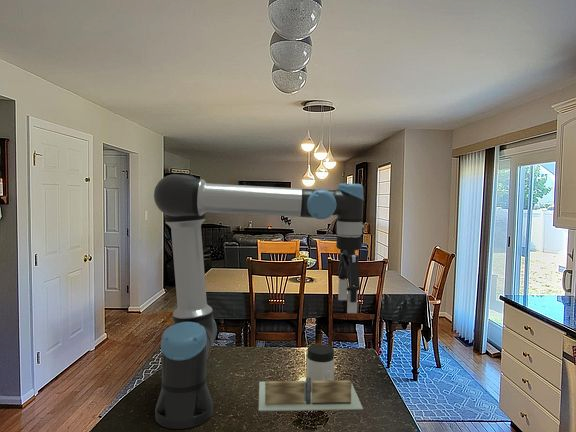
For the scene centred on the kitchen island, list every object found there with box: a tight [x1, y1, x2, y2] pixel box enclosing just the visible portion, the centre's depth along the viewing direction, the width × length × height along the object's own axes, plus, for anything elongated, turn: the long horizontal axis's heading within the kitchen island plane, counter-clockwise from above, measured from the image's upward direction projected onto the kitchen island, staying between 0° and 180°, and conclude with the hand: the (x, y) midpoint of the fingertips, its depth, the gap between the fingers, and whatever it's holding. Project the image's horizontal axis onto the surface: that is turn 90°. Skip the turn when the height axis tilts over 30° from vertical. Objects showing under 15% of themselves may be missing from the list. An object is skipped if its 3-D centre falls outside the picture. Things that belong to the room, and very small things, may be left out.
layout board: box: [258, 380, 364, 412], centre depth 124 cm, size 29×17×1 cm, turn 93°
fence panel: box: [264, 380, 305, 403], centre depth 118 cm, size 11×2×6 cm, turn 93°
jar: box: [305, 343, 335, 391], centre depth 128 cm, size 9×8×12 cm
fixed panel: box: [312, 379, 353, 403], centre depth 119 cm, size 11×2×6 cm, turn 93°
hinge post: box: [305, 377, 311, 404], centre depth 119 cm, size 1×1×8 cm
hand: (347, 306), depth 126 cm, fingers open, 13 cm apart
